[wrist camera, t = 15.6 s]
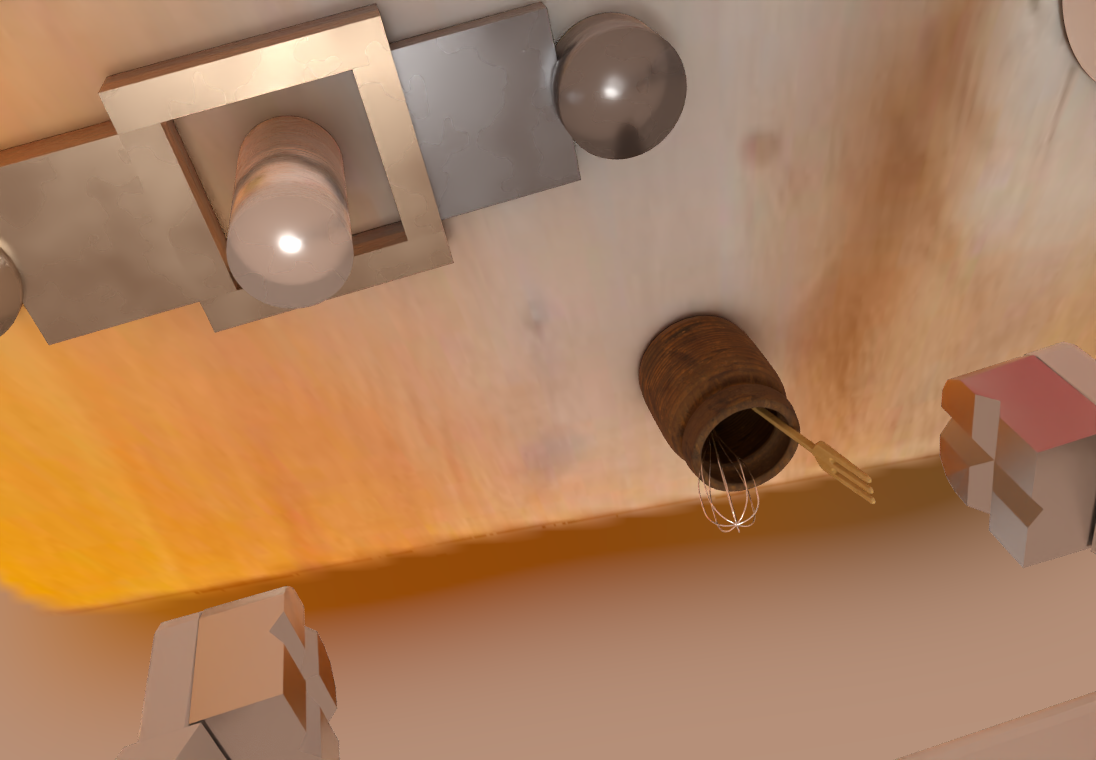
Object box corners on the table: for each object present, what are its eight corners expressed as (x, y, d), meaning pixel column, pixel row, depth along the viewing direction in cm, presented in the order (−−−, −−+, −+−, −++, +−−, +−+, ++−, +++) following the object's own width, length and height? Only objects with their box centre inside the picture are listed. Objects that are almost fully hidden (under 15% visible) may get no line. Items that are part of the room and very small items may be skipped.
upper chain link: (376, 3, 35) (381, 19, 33) (447, 241, 41) (455, 268, 39) (-187, 156, 34) (-218, 183, 32) (-32, 381, 40) (-49, 415, 38)
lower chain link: (647, -71, 36) (669, -60, 34) (680, 174, 42) (700, 196, 40) (106, 76, 35) (95, 97, 32) (217, 308, 40) (214, 338, 38)
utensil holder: (619, 340, 46) (708, 503, 36) (741, 289, 46) (864, 437, 36) (651, 430, 49) (741, 599, 39) (765, 381, 49) (883, 540, 39)
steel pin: (324, 104, 37) (331, 181, 30) (356, 198, 39) (369, 289, 33) (221, 131, 36) (206, 216, 30) (260, 224, 39) (253, 322, 32)
